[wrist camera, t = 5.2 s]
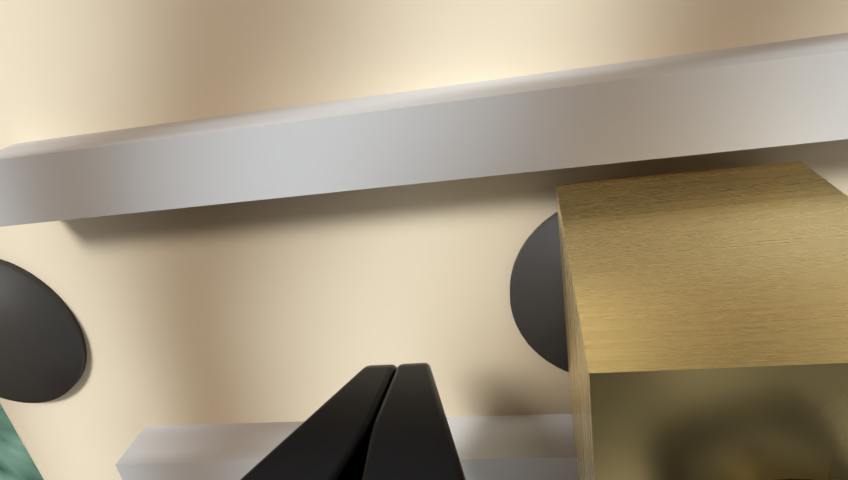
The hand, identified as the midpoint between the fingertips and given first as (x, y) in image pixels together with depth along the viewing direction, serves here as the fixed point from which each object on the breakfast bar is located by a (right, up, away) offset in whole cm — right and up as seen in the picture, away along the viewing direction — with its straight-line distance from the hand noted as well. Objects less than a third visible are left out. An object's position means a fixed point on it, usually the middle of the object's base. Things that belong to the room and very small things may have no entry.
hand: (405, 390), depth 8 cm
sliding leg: (+4, +1, +1) cm, 4 cm away
